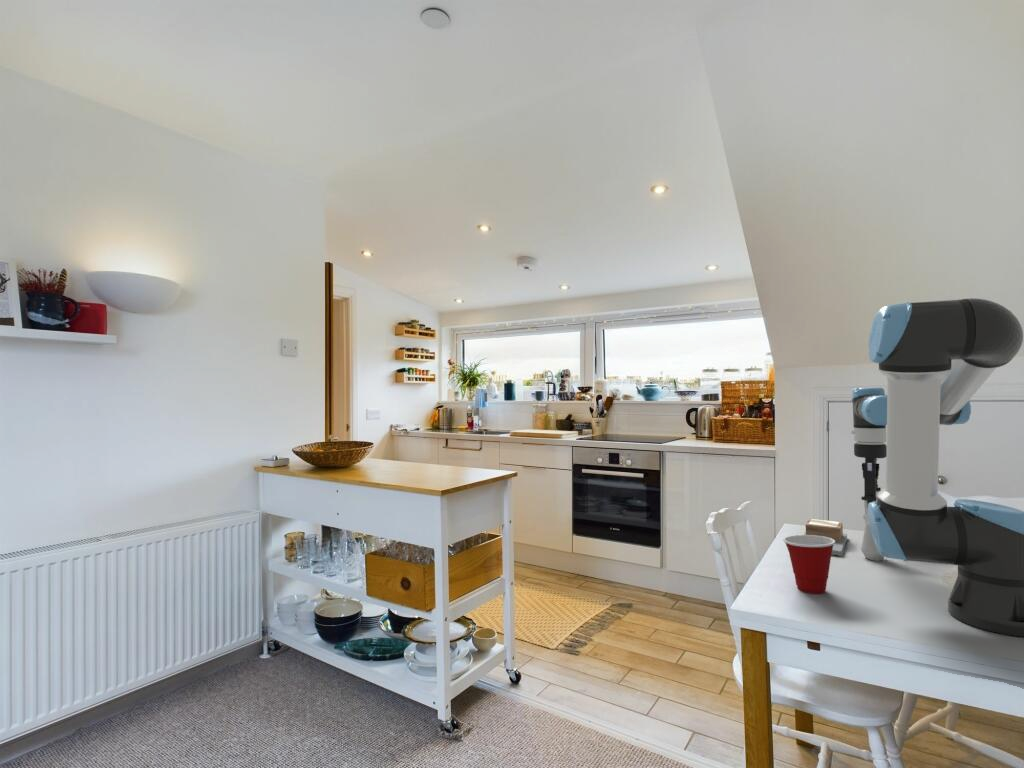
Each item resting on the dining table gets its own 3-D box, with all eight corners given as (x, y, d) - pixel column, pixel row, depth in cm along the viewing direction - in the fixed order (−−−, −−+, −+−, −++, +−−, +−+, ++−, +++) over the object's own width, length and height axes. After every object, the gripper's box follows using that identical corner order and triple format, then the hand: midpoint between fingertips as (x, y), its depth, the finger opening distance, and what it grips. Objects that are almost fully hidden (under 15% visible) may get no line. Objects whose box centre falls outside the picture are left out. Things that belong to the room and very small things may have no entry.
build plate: (841, 556, 146) (841, 551, 146) (797, 550, 153) (797, 545, 153) (847, 538, 164) (847, 533, 164) (807, 533, 170) (807, 529, 170)
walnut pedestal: (840, 542, 155) (839, 527, 155) (806, 537, 160) (805, 523, 160) (842, 535, 162) (842, 521, 162) (809, 531, 168) (809, 518, 168)
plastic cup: (792, 578, 130) (791, 529, 130) (842, 588, 122) (841, 537, 123) (777, 589, 122) (776, 538, 123) (829, 602, 115) (827, 547, 115)
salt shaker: (878, 555, 146) (877, 509, 147) (891, 562, 141) (889, 513, 141) (856, 555, 147) (855, 509, 147) (868, 561, 141) (867, 513, 142)
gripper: (856, 438, 157) (858, 508, 157) (850, 446, 137) (853, 527, 137) (887, 439, 152) (889, 511, 152) (885, 448, 132) (888, 531, 132)
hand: (872, 519), depth 144 cm, fingers open, 13 cm apart
